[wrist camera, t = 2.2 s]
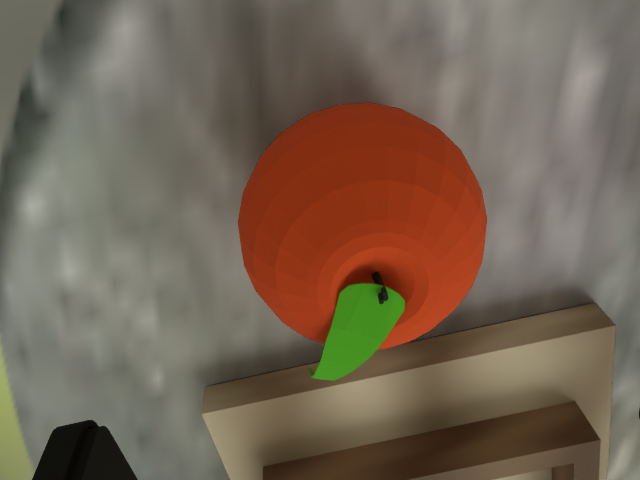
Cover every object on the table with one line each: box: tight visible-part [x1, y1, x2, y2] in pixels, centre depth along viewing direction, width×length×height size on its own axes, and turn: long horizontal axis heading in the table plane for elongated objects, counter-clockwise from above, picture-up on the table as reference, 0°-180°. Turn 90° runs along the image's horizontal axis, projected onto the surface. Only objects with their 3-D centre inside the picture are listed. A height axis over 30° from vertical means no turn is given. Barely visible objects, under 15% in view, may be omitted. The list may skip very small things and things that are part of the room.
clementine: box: [238, 103, 487, 381], centre depth 16 cm, size 8×7×7 cm
